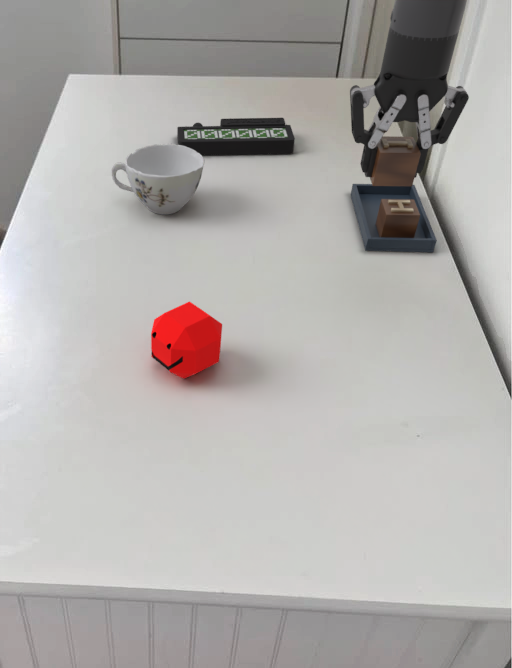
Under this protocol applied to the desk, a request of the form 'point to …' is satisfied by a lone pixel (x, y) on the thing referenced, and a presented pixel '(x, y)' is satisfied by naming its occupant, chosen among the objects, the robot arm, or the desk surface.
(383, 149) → the tile
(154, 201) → the teacup
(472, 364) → the desk surface
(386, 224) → the tile
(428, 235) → the word tray
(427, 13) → the robot arm
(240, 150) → the digital display
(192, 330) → the ball
